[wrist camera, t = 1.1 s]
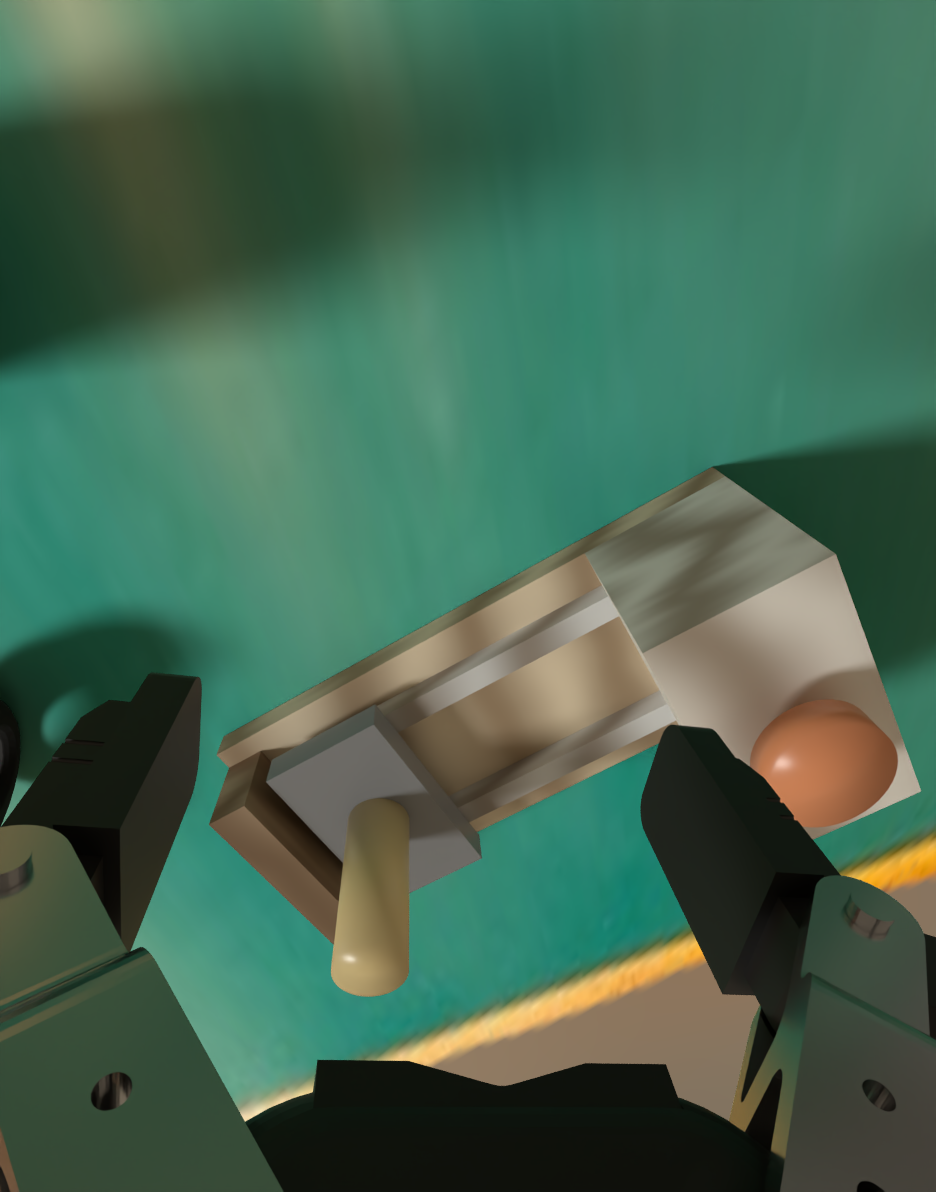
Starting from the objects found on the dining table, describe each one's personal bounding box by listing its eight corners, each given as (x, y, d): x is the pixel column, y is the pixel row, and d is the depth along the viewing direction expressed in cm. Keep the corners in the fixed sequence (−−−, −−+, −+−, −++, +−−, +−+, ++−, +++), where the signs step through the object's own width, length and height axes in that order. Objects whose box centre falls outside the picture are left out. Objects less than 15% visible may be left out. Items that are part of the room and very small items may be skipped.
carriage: (375, 704, 33) (362, 861, 25) (479, 834, 37) (499, 1008, 29) (272, 759, 34) (225, 929, 26) (384, 881, 38) (376, 1062, 30)
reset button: (853, 678, 23) (878, 702, 22) (886, 765, 25) (911, 792, 24) (732, 736, 24) (749, 763, 23) (773, 817, 26) (791, 845, 25)
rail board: (712, 467, 32) (835, 553, 23) (793, 658, 37) (922, 794, 28) (223, 736, 37) (159, 901, 28) (354, 874, 42) (338, 1054, 33)
